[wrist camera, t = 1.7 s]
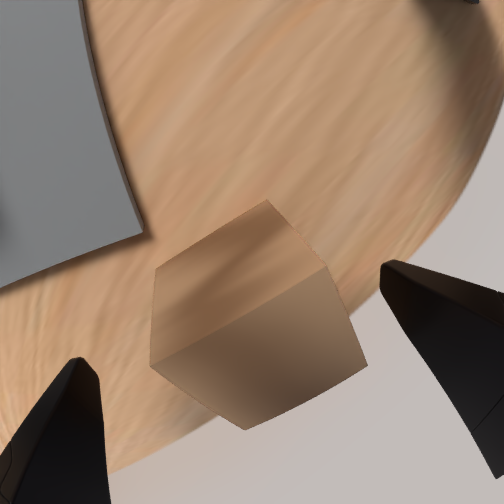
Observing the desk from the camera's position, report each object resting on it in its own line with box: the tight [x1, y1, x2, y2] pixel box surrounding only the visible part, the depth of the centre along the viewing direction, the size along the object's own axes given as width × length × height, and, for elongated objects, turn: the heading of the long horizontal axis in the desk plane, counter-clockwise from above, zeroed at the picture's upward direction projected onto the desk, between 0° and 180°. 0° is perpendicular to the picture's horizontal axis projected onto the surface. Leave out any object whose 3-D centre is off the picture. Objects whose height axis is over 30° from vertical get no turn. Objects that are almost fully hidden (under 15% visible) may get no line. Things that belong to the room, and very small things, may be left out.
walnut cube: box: [150, 200, 368, 430], centre depth 10 cm, size 5×5×5 cm
